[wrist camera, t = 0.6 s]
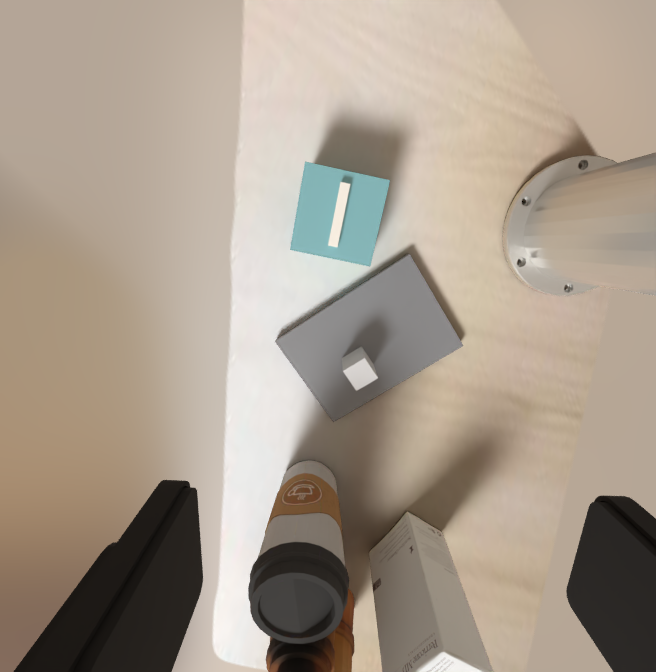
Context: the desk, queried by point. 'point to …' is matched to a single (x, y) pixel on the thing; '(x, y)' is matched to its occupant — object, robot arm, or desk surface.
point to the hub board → (370, 339)
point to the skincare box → (422, 604)
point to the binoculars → (317, 649)
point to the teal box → (338, 214)
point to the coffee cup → (301, 559)
